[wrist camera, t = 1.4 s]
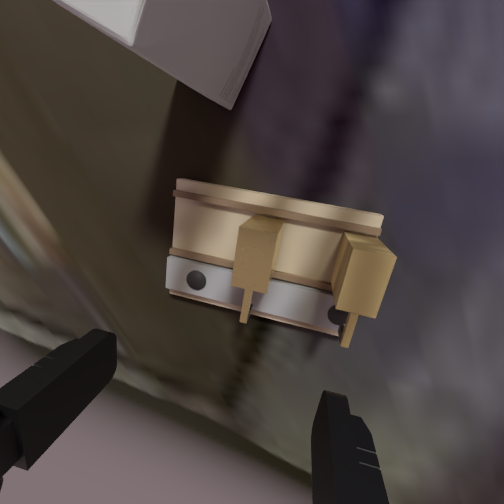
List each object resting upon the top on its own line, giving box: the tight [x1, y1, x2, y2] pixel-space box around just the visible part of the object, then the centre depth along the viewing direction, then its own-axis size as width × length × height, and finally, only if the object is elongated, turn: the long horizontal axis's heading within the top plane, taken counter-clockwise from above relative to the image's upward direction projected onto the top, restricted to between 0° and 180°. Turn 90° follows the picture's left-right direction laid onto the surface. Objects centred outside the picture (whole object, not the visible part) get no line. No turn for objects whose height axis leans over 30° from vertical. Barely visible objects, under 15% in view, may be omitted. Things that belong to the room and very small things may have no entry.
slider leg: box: [231, 215, 285, 323], centre depth 24 cm, size 3×8×6 cm, turn 171°
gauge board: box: [166, 178, 397, 348], centre depth 25 cm, size 20×13×8 cm, turn 81°
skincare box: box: [52, 0, 272, 110], centre depth 17 cm, size 8×7×16 cm
